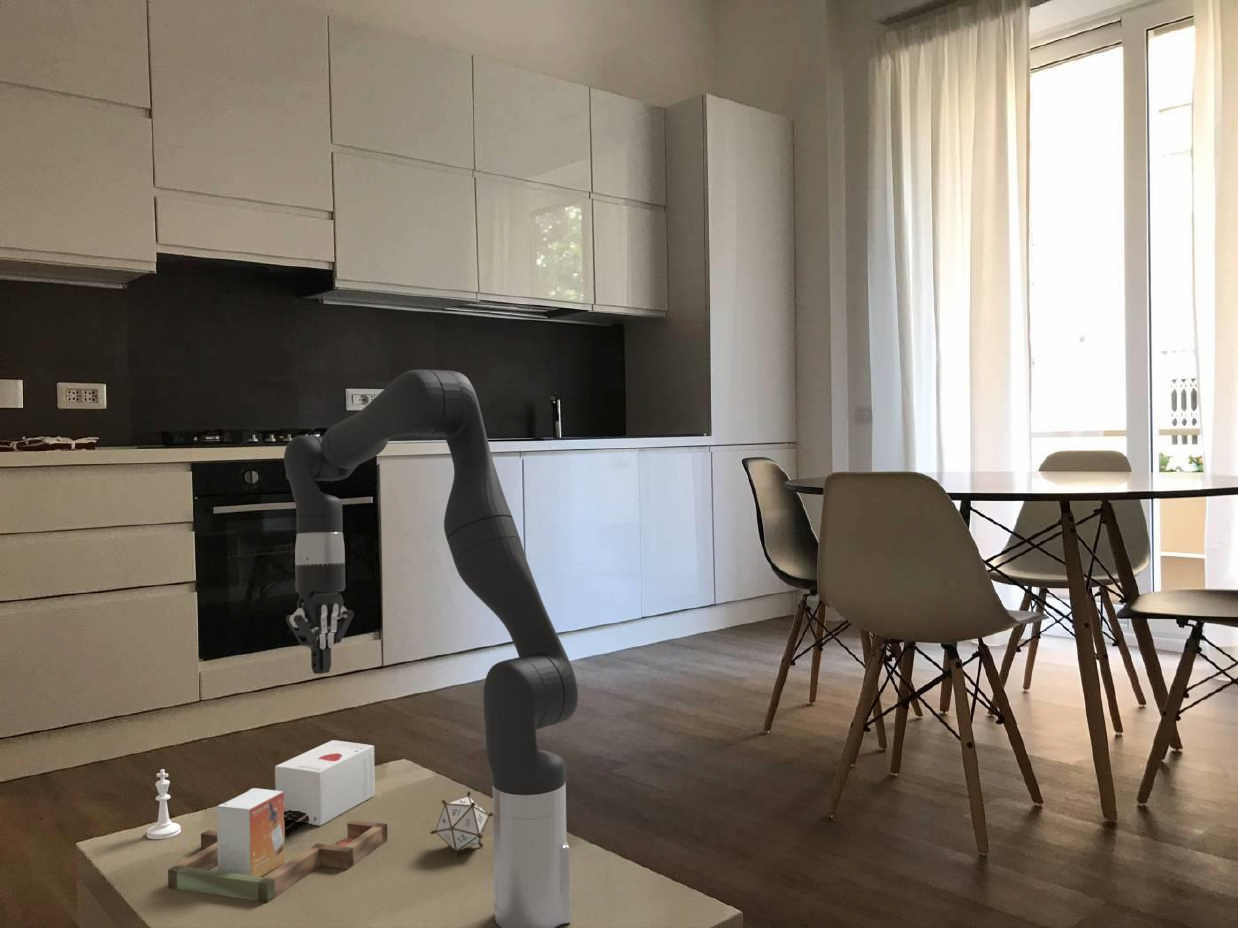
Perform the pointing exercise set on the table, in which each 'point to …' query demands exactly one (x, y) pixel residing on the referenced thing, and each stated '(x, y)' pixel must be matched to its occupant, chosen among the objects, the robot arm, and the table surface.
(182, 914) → the table surface
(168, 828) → the chess piece
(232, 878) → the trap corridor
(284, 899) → the table surface
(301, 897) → the table surface
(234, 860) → the small box
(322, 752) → the supplement box
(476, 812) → the game die
